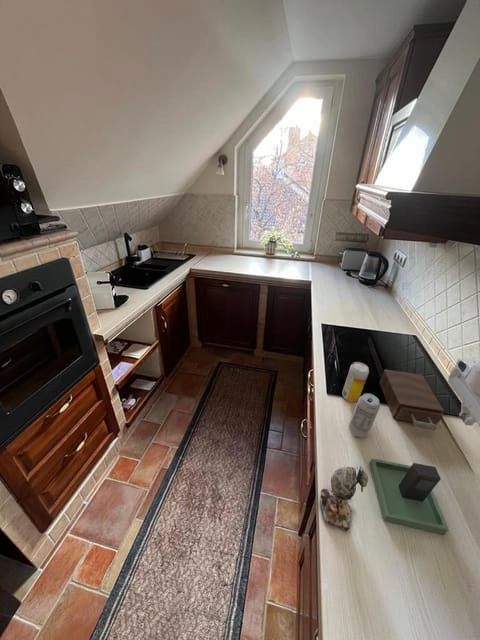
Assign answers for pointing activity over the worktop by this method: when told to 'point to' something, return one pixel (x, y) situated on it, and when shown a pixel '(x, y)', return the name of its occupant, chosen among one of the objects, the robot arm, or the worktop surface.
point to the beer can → (355, 381)
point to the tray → (404, 499)
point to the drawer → (419, 416)
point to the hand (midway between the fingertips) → (465, 420)
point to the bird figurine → (342, 495)
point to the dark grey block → (419, 482)
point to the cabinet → (407, 392)
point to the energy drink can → (364, 415)
